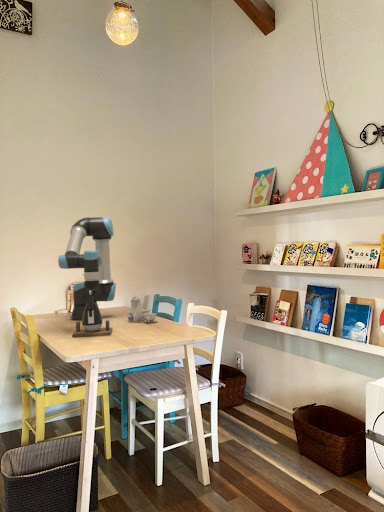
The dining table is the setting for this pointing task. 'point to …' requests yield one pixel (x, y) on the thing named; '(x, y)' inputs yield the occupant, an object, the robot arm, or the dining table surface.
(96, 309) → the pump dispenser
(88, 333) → the holder
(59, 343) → the dining table surface
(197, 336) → the dining table surface
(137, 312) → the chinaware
